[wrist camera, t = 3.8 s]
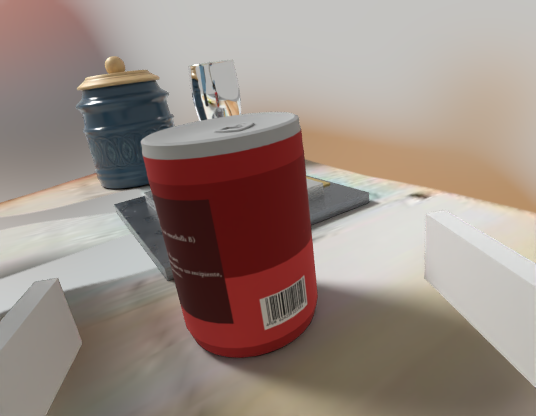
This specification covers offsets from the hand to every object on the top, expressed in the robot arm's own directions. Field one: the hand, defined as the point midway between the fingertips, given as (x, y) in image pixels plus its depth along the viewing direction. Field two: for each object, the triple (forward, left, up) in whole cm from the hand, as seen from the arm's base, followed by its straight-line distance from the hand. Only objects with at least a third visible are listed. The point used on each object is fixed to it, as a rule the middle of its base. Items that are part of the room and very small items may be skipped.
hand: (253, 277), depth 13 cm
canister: (-36, +34, -7) cm, 50 cm away
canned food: (-4, +6, -7) cm, 9 cm away
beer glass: (-24, +40, -7) cm, 47 cm away
